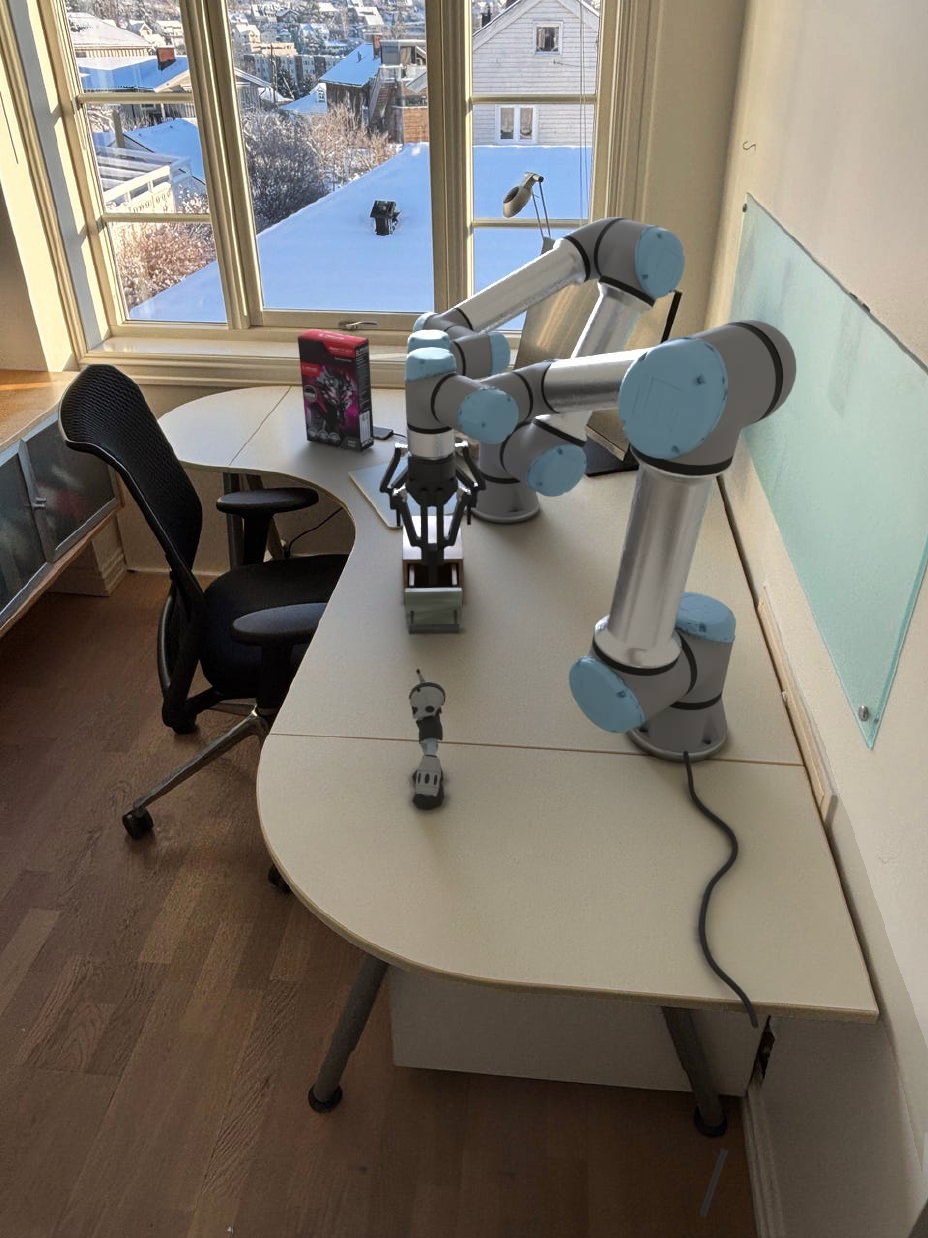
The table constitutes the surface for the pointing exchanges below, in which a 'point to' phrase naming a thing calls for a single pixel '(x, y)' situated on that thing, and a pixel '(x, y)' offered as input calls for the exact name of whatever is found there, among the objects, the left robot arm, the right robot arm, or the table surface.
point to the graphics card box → (336, 389)
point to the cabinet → (450, 552)
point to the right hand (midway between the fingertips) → (432, 580)
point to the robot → (428, 742)
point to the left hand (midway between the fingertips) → (433, 522)
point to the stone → (471, 443)
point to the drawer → (433, 601)
